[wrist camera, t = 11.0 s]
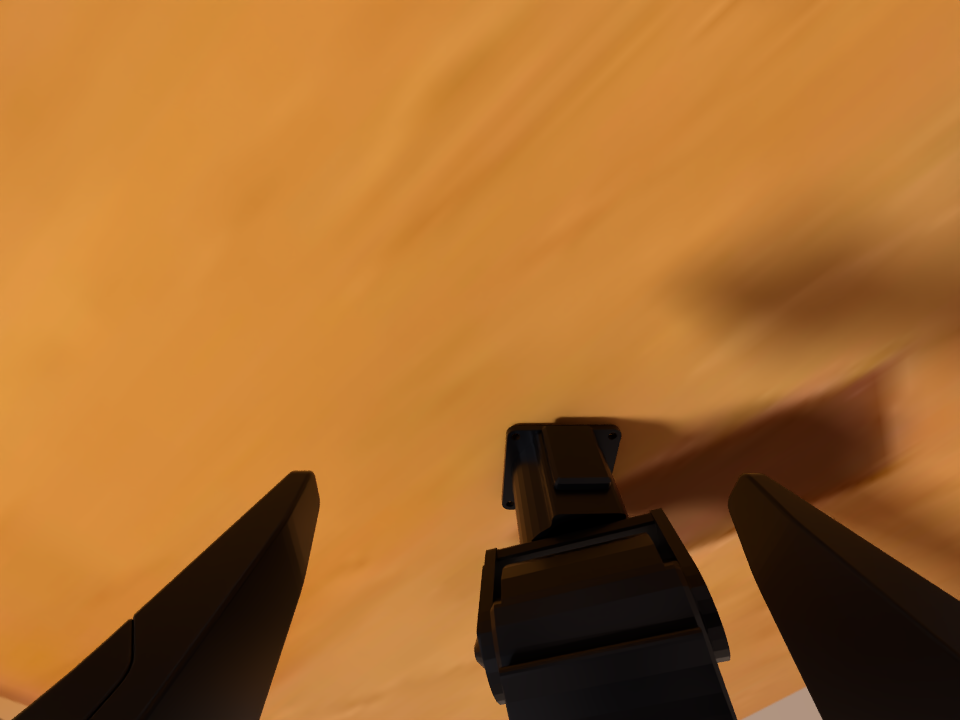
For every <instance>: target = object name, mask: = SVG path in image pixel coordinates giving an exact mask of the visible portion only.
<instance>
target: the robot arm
mask: <svg viewBox="0 0 960 720" xmlns="http://www.w3.org/2000/svg"><path fill="white" fill-rule="evenodd" d="M611 433H614V434H612V435H609V434H611ZM513 434H518V435H517V436H513ZM620 439H621V432H620V430H619V428H618V427H617V426H616V425H519V426H511V427H509V428H508V430H507V432H506V445H505V459H504V474H503V488H502V506H503V507H504V508H505V509H509V510H514V509H516V517H517V524H518V532H519V539H520V544H519V545H515V546H511V547H507V548H502V549H498V550H497V548H494V549H490V550H486V554H485V564H484V566H483V569H482V580H481V590H480V601H479V611H478V621H477V639H476V643H475V647H474V652H475V657H476V660H477V662H478V663H479V664H480V665H481V666H482V667H483V668H485V670H486V675H487V678H488V682H489V685H490V688H491V691H492V693H493V696H494V698H495V699H496V701H497V702H498V703H499V704H500V705H502V704H506V707H507V712H508V717H509V720H737V718H736V715H735V712H734V709H733V706H732V703H731V701H730V698H729V695H728V692H727V689H726V687H725V684H724V681H723V678H722V675H721V672H720V670H719V667H718V664H717V663H719V662H724V661H729V660H730V650H729V646H728V642H727V638H726V635H725V632H724V628H723V625H722V623H721V620H720V617H719V614H718V612H717V609H716V607H715V604H714V602H713V599H712V597H711V595H710V592H709V590H708V588H707V586H706V584H705V582H704V580H703V577H702V575H701V573H700V572H699V570H698V568H697V566H696V564H695V563H694V561H693V560H692V558H691V556H690V555H689V553H688V551H687V550H686V548H685V546H684V545H683V543H682V541H681V540H680V538H679V536H678V535H677V533H676V531H675V530H674V528H673V526H672V525H671V523H670V521H669V520H668V518H667V517H666V515H665V513H664V512H663V510H662V508H659V509H655V510H651V511H650V513H647V514H643V515H639V516H634V517H630V518H629V517H628V514H627V512H626V509H625V506H624V504H623V501H622V499H621V496H620V494H619V491H618V489H617V486H616V484H615V481H614V478H613V476H612V472H613V468H614V464H615V460H616V456H617V451H618V447H619V443H620ZM509 501H511V502H509ZM319 507H320V498H319V493H318V488H317V483H316V478H315V475H314V473H313V472H312V471H292V472H290V473H289V474H288V475H287V476H286V477H285V478H284V479H282V480H281V481H280V482H279V483H278V484H277V485H276V486H275V487H274V488H273V489H271V490H270V491H269V492H268V493H267V494H266V495H265V496H264V497H263V498H262V499H260V500H259V501H258V502H257V503H256V504H255V505H254V506H253V507H252V508H251V509H250V510H248V511H247V512H246V513H245V514H244V515H243V516H242V517H241V518H240V519H239V520H237V521H236V522H235V523H234V524H233V525H232V526H231V527H230V528H229V529H228V530H226V531H225V532H224V533H223V534H222V535H221V536H220V537H219V538H218V539H217V540H216V541H214V542H213V543H212V544H211V545H210V546H209V547H208V548H207V549H206V550H205V551H203V552H202V553H201V554H200V555H199V556H198V557H197V558H196V559H195V560H194V561H192V562H191V563H190V564H189V565H188V566H187V567H186V568H185V569H184V570H183V571H182V572H180V573H179V574H178V575H177V576H176V577H175V578H174V579H173V580H172V581H171V582H169V583H168V584H167V585H166V586H165V587H164V588H163V589H162V590H161V591H160V592H158V593H157V594H156V595H155V596H154V597H153V598H152V599H151V600H150V601H149V602H148V603H146V604H145V605H144V606H143V607H142V608H141V609H140V610H139V611H138V612H137V613H135V614H134V616H133V619H129V620H128V621H126V622H125V623H124V624H123V625H122V626H121V627H120V628H119V629H118V630H117V631H115V632H114V633H113V634H112V635H111V636H110V637H109V638H108V639H107V640H106V641H104V642H103V643H102V644H101V645H100V646H99V647H98V648H96V649H95V650H94V651H93V652H92V653H91V654H90V655H89V656H87V657H86V658H85V659H84V660H83V661H82V662H81V663H79V664H78V665H77V666H76V667H75V668H74V669H73V670H71V671H70V672H69V673H68V674H67V675H65V676H64V677H63V678H62V679H61V680H59V681H58V682H57V683H56V684H55V685H53V686H52V687H51V688H50V689H49V690H47V691H46V692H45V693H44V694H43V695H41V696H40V697H39V698H38V699H36V700H35V701H34V702H33V703H32V704H30V705H29V706H28V707H27V708H26V709H24V710H23V711H22V712H21V713H19V714H18V715H17V716H16V717H14V718H13V719H12V720H259V719H260V716H261V713H262V710H263V707H264V704H265V701H266V698H267V695H268V692H269V689H270V686H271V683H272V680H273V676H274V673H275V670H276V667H277V664H278V661H279V658H280V655H281V652H282V649H283V646H284V643H285V640H286V637H287V634H288V631H289V627H290V624H291V621H292V618H293V615H294V612H295V609H296V606H297V603H298V600H299V597H300V594H301V590H302V587H303V583H304V579H305V575H306V570H307V566H308V561H309V556H310V551H311V547H312V542H313V537H314V532H315V527H316V523H317V518H318V513H319ZM728 509H729V512H730V515H731V518H732V520H733V523H734V526H735V528H736V531H737V534H738V537H739V539H740V542H741V545H742V547H743V550H744V553H745V555H746V558H747V561H748V563H749V566H750V569H751V571H752V574H753V576H754V579H755V581H756V583H757V585H758V587H759V590H760V592H761V594H762V596H763V598H764V600H765V602H766V604H767V606H768V608H769V610H770V612H771V614H772V616H773V618H774V621H775V623H776V625H777V627H778V629H779V631H780V633H781V635H782V637H783V639H784V641H785V643H786V645H787V647H788V649H789V651H790V653H791V656H792V658H793V660H794V662H795V664H796V666H797V668H798V670H799V672H800V674H801V676H802V678H803V680H804V682H805V684H806V686H807V689H808V691H809V693H810V695H811V697H812V699H813V701H814V703H815V705H816V707H817V709H818V711H819V713H820V715H821V717H822V719H823V720H960V601H959V600H957V599H956V598H954V597H953V596H951V595H949V594H948V593H946V592H945V591H943V590H942V589H940V588H939V587H937V586H936V585H934V584H933V583H931V582H929V581H928V580H926V579H925V578H923V577H922V576H920V575H919V574H917V573H916V572H914V571H913V570H911V569H909V568H908V567H906V566H905V565H903V564H902V563H900V562H899V561H897V560H896V559H894V558H892V557H891V556H889V555H888V554H886V553H885V552H883V551H882V550H880V549H879V548H877V547H876V546H874V545H872V544H871V543H869V542H868V541H866V540H865V539H863V538H862V537H860V536H859V535H857V534H856V533H854V532H852V531H851V530H849V529H848V528H846V527H845V526H843V525H842V524H840V523H839V522H837V521H835V520H834V519H832V518H831V517H829V516H828V515H826V514H825V513H823V512H822V511H820V510H819V509H817V508H815V507H814V506H812V505H811V504H809V503H808V502H806V501H805V500H803V499H802V498H800V497H798V496H797V495H795V494H794V493H792V492H791V491H789V490H788V489H786V488H785V487H783V486H782V485H780V484H778V483H777V482H775V481H774V480H772V479H771V478H769V477H768V476H766V475H764V474H761V473H744V474H742V475H740V477H739V478H738V480H737V482H736V484H735V486H734V488H733V490H732V492H731V495H730V497H729V499H728Z"/></svg>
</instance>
